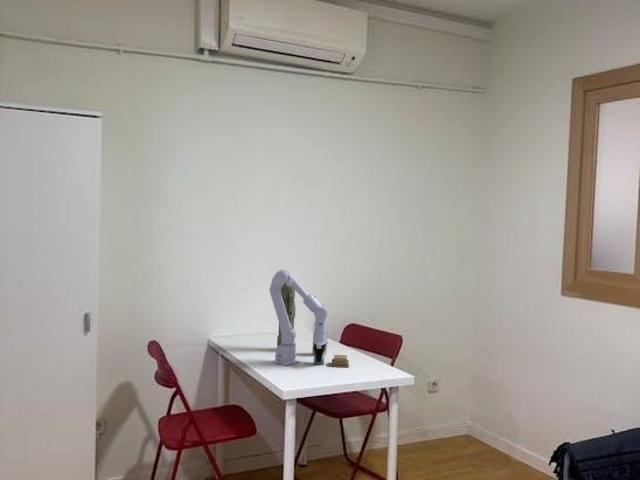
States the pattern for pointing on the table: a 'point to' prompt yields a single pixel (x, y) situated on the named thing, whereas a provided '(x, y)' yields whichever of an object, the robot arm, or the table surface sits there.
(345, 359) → the oak block
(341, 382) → the table surface
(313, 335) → the skincare box
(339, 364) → the walnut slab
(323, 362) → the teal cylinder
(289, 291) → the thermos
